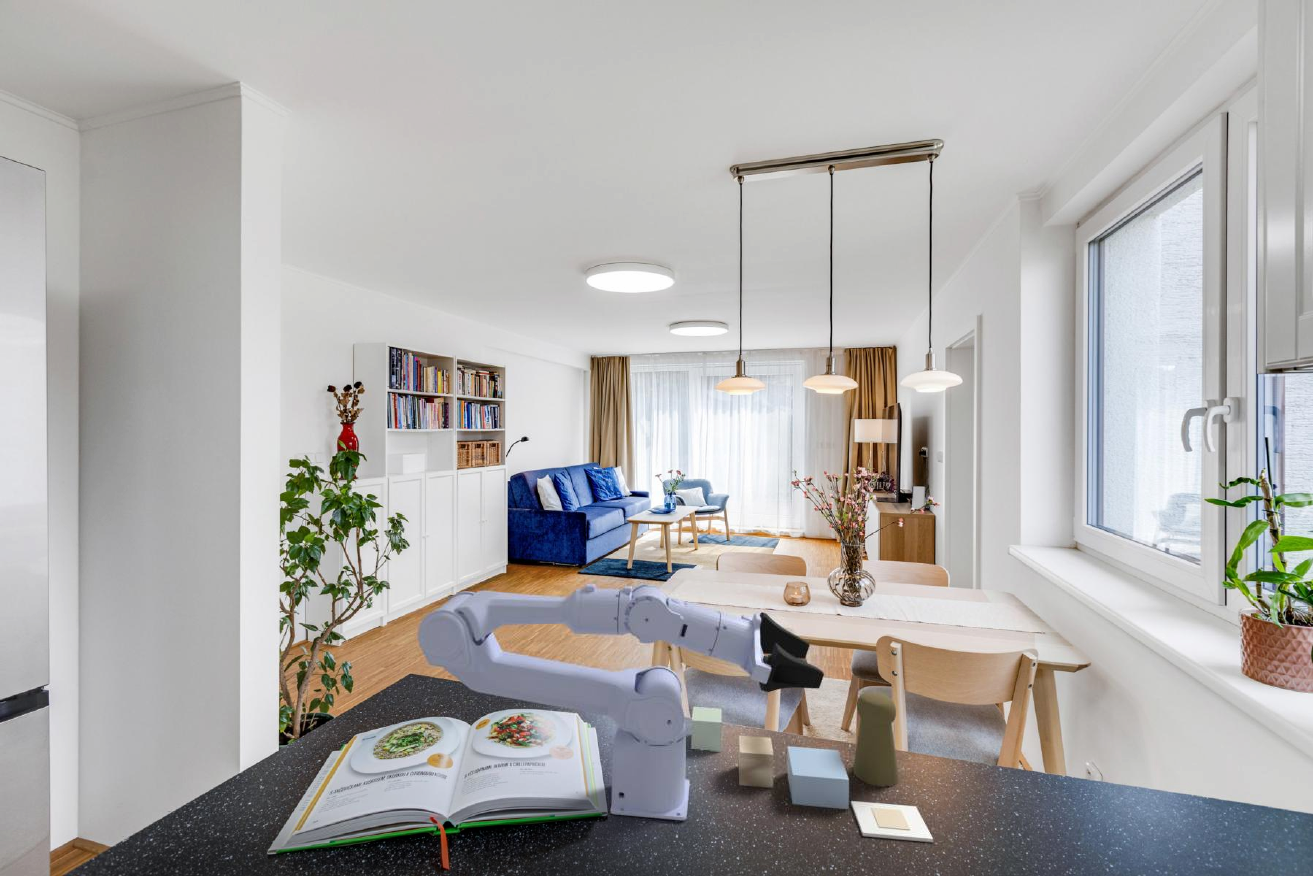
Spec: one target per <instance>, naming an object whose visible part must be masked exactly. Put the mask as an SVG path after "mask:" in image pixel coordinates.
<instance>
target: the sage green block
mask: <svg viewBox="0 0 1313 876" xmlns="http://www.w3.org/2000/svg"><path fill="white" fill-rule="evenodd" d="M722 711H723V710H722V708H717V707H705V706H704V707H702V706H693V707H692V715H691V717H692V718H691V742H690V743H691V749H704V750H710V751H709V752H719V753H720V752H721V753H722V728H723V727H722V722H723V721H722V720H723V719H722V717H723V716H722V713H723V712H722Z"/></svg>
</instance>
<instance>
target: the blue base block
mask: <svg viewBox="0 0 1313 876" xmlns="http://www.w3.org/2000/svg"><path fill="white" fill-rule="evenodd" d="M786 750H787V753H786V755H787V758H786V759H787V763H786V764H787V765H786V766H787V767H786V773H787V774H788V775H787V774H786V775H787V780H788V785H789V792H790V796H791V802H792V805H799V806H800V805H801V806H807V807H808V806H810V807H819V808H820V807H821V808H829V809H830V808H831V809H832V808H833V809H841V810H849V808H850V807H849V806H850V802H849V801H850V798H849V797H850V779H849V776H848V774H847V770H846V767H845V765H844V762H843V759H842V757H841V753H840V751H839V750H838V749H826V748H814V747H801V746H800V747H799V746H789V745H787V749H786Z"/></svg>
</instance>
